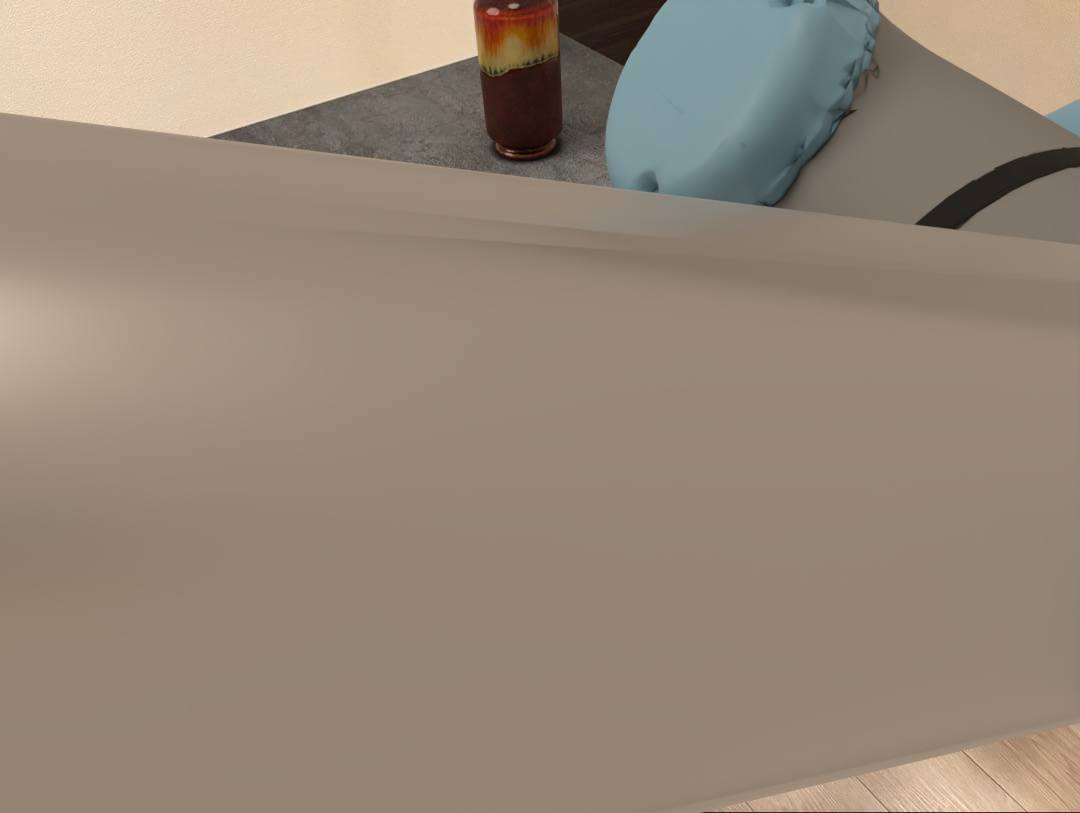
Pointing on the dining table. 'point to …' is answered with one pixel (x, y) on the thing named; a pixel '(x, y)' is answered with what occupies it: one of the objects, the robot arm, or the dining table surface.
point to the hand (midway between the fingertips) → (490, 502)
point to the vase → (520, 75)
